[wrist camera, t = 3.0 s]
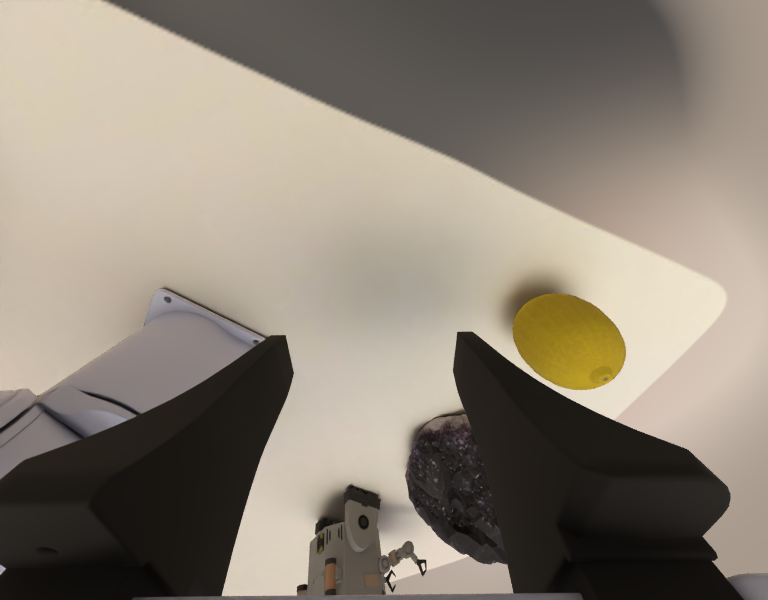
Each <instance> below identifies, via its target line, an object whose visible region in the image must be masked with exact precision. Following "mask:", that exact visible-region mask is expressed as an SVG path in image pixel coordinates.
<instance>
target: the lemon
mask: <svg viewBox="0 0 768 600" xmlns="http://www.w3.org/2000/svg"><path fill="white" fill-rule="evenodd" d="M512 329H513V339H514V342H515V345H516V347H517V349H518V351H519V353H520V355H521V357H522V358H523V359H524V360H525V362H526V363H527V364H528V365H529V366H530V367H531V368H532V369H533V370H534V371H535V372H536V373H538V374H539V375H540V376H542V377H543V378H545V379H546V380H548V381H550V382H552V383H554V384H556V385H558V386H560V387H564V388H568V389H574V390H588V389H594V388H597V387H600V386H603V385H605V384H607V383H609V382H610V381H611V380H613V379H614V378H615V377H616V376H617V375H618V373H619V372H620V370H621V369H622V367H623V364H624V361H625V357H626V349H625V343H624V340H623V338H622V336H621V334H620V332H619V330H618V328H617V327H616V325H615V324H614V323H613V322H612V321H611V320H610V319H609V318H608V317H607V316H606V315H605V314H604V313H603V312H602V311H601V310H600V309H598V308H597V307H596V306H594V305H593V304H591V303H589V302H587V301H585V300H582V299H580V298H578V297H575V296H572V295H566V294H559V293H554V294H545V295H541V296H538V297H536V298H534V299H532V300H530V301H528V302H527V303H526V304H525V305H523V306H522V307H521V309H520V310H519V311H518V313H517V315H516V317H515V319H514V323H513V328H512Z"/></svg>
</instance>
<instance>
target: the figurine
mask: <svg viewBox="0 0 768 600" xmlns="http://www.w3.org/2000/svg"><path fill="white" fill-rule="evenodd" d="M380 502H381V499H379V498H378V495H377V494H375V495H373V496H372V493H371V492H368V493H367V494H364V493H363V491H362V490H361V489H359V490H358V491H357V490H356V488H355V487H352V488H351V489H350V488H348V490H347V491H346V492H345V493H344V504H345V522H340V523H337V524H333V521H332V520H330V521H329V522H327V519H326V518H324V519H323V520H319V521H318V523H317V524H316V529H315V534H316V537H315V538H314V539H313V540H312V541H311V542H310V554H309V572H308V585H306V584H303V585H299V586H298V587H297V596H314V595H386V592H385V583H386V582H387V583H388V585H389V587H390V589H391V591H392V592H393V591H394V588H395V586H394V587H393V589H392V587H391V584H390V582H389V579H390V576H391V574H392V573H393V575H394V576H395V574H394V572H393V571H392V570H391V571H390V573H389V574H388V576H387V577H386V578H385V577H384V574H385V573H387V572H388V571H389V570H390V566H391V565H392V566H393V567H394V566H396V565H397V564H398V563H400V561H401V560H402V559H403V558H409V557H411V559H412V560H413V561H414V562H415V564H416V563H417V565H418V566H419V569H420V571H421V574H422V576H423V575H424V574H425V572H426V570H427V569H426V570H425V571H424V572H423V570H422V567H421V563H425V568H426V560H419V559H417V556H416V555H415V554H414V553H413V551H414V546H413V544H412V542H410V541H407V542H405V543H404V545H403V546H402V548H399V549H398V550H397V551H396V550H393V551H391V552H390V553H389V554H388V555H389V556H388V557H387V556H385V555H383V556H381V549H380V540H379V532H378V529H377V521H378V510H379V509H380ZM395 551H396V552H395ZM395 577H396V576H395ZM307 588H308V590H307Z"/></svg>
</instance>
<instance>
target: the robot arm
mask: <svg viewBox="0 0 768 600" xmlns="http://www.w3.org/2000/svg"><path fill="white" fill-rule="evenodd" d="M168 297H169V298H171V300H170V299H169V298H168ZM255 340H258V341H259V342H256V341H255ZM453 373H454V377H455V382H456V386H457V390H458V394H459V396H460V399H461V402H462V405H463V407H464V410H465V413H466V415H467V418H468V421H469V423H470V426H471V428H472V431H473V434H474V436H475V439H476V442H477V445H478V448H479V451H480V454H481V457H482V461H483V465H484V468H485V472H486V476H487V480H488V483H489V487H490V491H491V495H492V499H493V503H494V507H495V511H496V516H497V520H498V524H499V529H500V533H501V537H502V541H503V546H504V550H505V555H506V560H507V564H508V569H509V574H510V578H511V583H512V588H513V593H514V594H424V595H423V594H422V595H421V594H417V595H314V596H222V591H223V587H224V583H225V580H226V576H227V572H228V568H229V564H230V560H231V556H232V552H233V548H234V544H235V541H236V537H237V534H238V530H239V526H240V523H241V519H242V516H243V512H244V509H245V506H246V502H247V499H248V496H249V492H250V489H251V486H252V483H253V480H254V477H255V474H256V471H257V468H258V465H259V462H260V459H261V456H262V453H263V451H264V448H265V446H266V443H267V441H268V439H269V437H270V434H271V432H272V430H273V428H274V425H275V423H276V421H277V419H278V416H279V414H280V412H281V409H282V407H283V405H284V403H285V400H286V398H287V395H288V392H289V389H290V386H291V382H292V378H293V374H294V372H293V367H292V363H291V358H290V354H289V349H288V344H287V340H286V335H271V336H269V337H268V338H264V337H262V336H260V335H258V334H256V333H254V332H252V331H250V330H248V329H246V328H243V327H241V326H239V325H237V324H235V323H233V322H231V321H229V320H227V319H225V318H223V317H221V316H219V315H217V314H215V313H213V312H211V311H209V310H207V309H205V308H203V307H201V306H199V305H197V304H195V303H193V302H191V301H189V300H186V299H184V298H182V297H180V296H178V295H176V294H174V293H172V292H170V291H168V290H166V289H158V290H157V291H155V293H154V295H153V298H152V301H151V305H150V308H149V311H148V314H147V317H146V320H145V323H144V326H143V327H142V328H141V329H139V330H138V331H136V332H134V333H133V334H131V335H130V336H128V337H127V338H125V339H124V340H122V341H121V342H119V343H118V344H116V345H115V346H113V347H112V348H110V349H109V350H107V351H106V352H104V353H103V354H101V355H100V356H98V357H97V358H95V359H94V360H92V361H91V362H89V363H88V364H86V365H85V366H83V367H82V368H80V369H79V370H77V371H76V372H74V373H73V374H71V375H70V376H68V377H67V378H65V379H64V380H62V381H61V382H59V383H58V384H56V385H55V386H53V387H51V388H50V389H48V390H47V391H45V392H44V393H42V394H41V395H38V396H36V395H35V394H34V393H32V392H31V391H30V390H29V389H19V390H16V391H13V390H9V391H0V600H768V573H759V574H758V573H757V574H739V575H735V576H731V577H728V578H727V579H726V578H725V577H724V575H723V574H722V573H721V572H720V570H719V569H718V568H717V567H716V566H715V564H714V563H713V562H712V561H714V560H716V559H717V558H718V557H717V554H716V552H715V551H714V550H713V548H712V547H711V546H710V545H709V544H708V543H707V541H706V540H705V539H704V538H703V537H702V536H703V535H704V534H705V533H706V532H707V531H708V530H709V529H710V528H711V526H713V525H714V523H715V522H716V521H717V520H718V519H719V518H720V517H721V516H722V515H723V514H724V512H725V511H726V510H727V508H728V507H729V503H730V492H729V490H728V487H727V486H726V485H725V484H724V483H723V482H722V481H721V480H720V479H719V478H718V477H717V476H716V475H714V474H713V473H712V472H711V471H710V470H709V469H708V468H707V467H706V466H705V465H704V464H703V463H702V462H701V461H699V460H698V459H697V458H696V457H695V456H694V455H693V454H692V453H691V452H690V451H689V450H687V449H685V448H682V447H680V446H677V445H674V444H671V443H669V442H666V441H664V440H661V439H658V438H656V437H653V436H650V435H648V434H645V433H642V432H640V431H637V430H635V429H633V428H630V427H628V426H626V425H623V424H621V423H619V422H616V421H614V420H612V419H609V418H607V417H605V416H603V415H601V414H598V413H596V412H594V411H592V410H590V409H588V408H586V407H584V406H582V405H580V404H578V403H576V402H574V401H572V400H570V399H568V398H567V397H565V396H563V395H561V394H559V393H558V392H556V391H554V390H552V389H551V388H549V387H547V386H546V385H544V384H542V383H541V382H539V381H537V380H536V379H534V378H533V377H531V376H530V375H528V374H527V373H525V372H524V371H523V370H521V369H520V368H518V367H517V366H515V365H514V364H513V363H511V362H510V361H509V360H507V359H506V358H505V357H503V356H502V355H501V354H500V353H498V352H497V351H496V350H495V349H493V348H492V347H491V346H490V345H488V344H487V343H486V342H485V341H483V340H482V339H481V338H480V337H479V336H477V335H476V334H475V333H473V332H457V340H456V349H455V358H454V366H453Z"/></svg>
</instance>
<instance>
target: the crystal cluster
mask: <svg viewBox="0 0 768 600" xmlns="http://www.w3.org/2000/svg"><path fill="white" fill-rule="evenodd" d="M405 477H406V481H407V485H408V491H409V499H410V500H411V502H412V503H413V505H414V507H415V509H416V511H417V513H418V514H419V515H420V517H421V518H422V519H423V520H424V521H425V522H426V523H427V525H428V526H431V528H432V530H433V531H434V532H435V533H436V534H437V536H438V537H439V538H441V539H442V540H443V541H444V542H445V543H447V544H448V545H450V546H451V547H453V548H454V549H455V550H457V551H458V552H459V553H461V554H463V555H464V554H467V555H469V556H470V557H472V558H473V559H475V560H476V561H478V562H480V563H483V564H492V563H496V562H499V563H503V564H507V560H506V555H505V550H504V546H503V541H502V537H501V533H500V529H499V524H498V520H497V516H496V511H495V507H494V503H493V499H492V495H491V491H490V487H489V483H488V480H487V476H486V472H485V468H484V465H483V461H482V457H481V454H480V451H479V448H478V445H477V442H476V439H475V436H474V434H473V431H472V428H471V426H470V423H469V421H468V418H467V415H466V414H462V415H460V416H448V417H438V418H434V419H433V420H432V421H431V422H429V423H427V424H426V425H425V426H424V427H423V428H422V429H421V431H420V432H419V433H418V436H417V438H416V439H415V441H414V443H413V446H412V450H411V455H410V456H409V466H408V468H407V471H406V474H405Z"/></svg>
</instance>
